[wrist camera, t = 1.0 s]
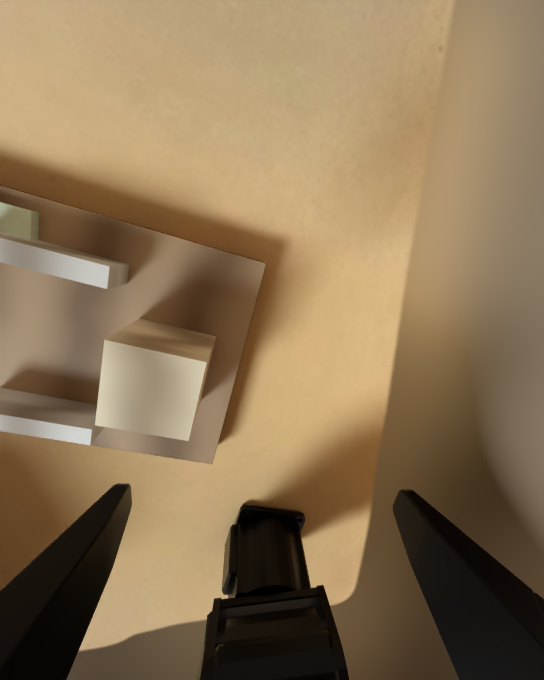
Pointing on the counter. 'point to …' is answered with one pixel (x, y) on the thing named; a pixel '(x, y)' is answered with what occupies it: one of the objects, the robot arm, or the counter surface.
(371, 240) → the counter surface
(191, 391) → the maple block
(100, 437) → the channel board
